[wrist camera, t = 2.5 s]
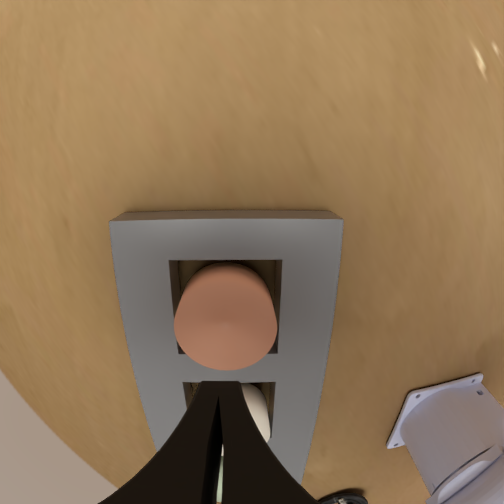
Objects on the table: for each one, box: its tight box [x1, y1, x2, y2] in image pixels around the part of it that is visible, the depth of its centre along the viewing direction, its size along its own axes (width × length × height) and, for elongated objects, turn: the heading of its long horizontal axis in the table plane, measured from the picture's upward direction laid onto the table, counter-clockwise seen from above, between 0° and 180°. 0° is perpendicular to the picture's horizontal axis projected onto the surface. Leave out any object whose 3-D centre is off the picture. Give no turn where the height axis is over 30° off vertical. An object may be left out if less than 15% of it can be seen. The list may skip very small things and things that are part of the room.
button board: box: [109, 210, 344, 485], centre depth 20 cm, size 12×26×2 cm, turn 0°
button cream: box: [221, 383, 270, 456], centre depth 19 cm, size 5×5×3 cm
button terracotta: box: [174, 262, 277, 371], centre depth 16 cm, size 5×5×3 cm
